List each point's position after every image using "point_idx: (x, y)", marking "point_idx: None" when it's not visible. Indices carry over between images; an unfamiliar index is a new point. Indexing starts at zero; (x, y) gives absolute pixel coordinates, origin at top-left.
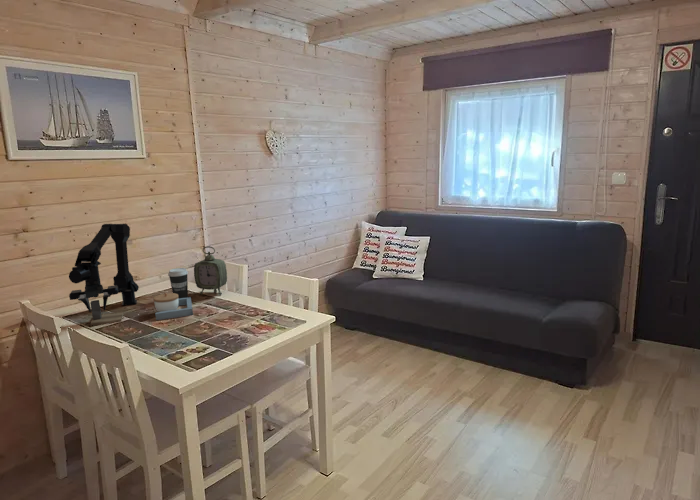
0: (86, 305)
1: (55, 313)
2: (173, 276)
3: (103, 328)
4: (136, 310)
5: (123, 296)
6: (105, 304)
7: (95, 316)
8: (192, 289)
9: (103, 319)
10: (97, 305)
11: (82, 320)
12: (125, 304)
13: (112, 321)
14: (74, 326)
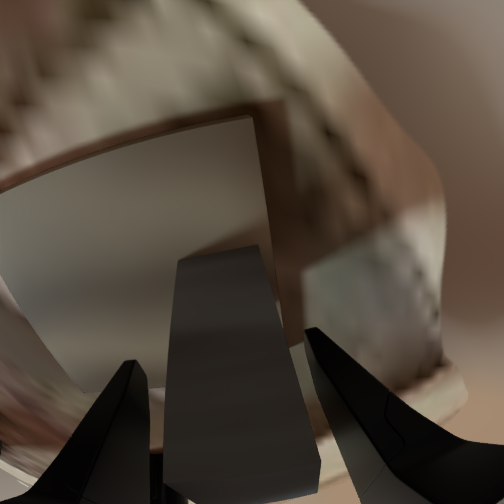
0: (383, 400)
1: (462, 386)
2: None
3: (67, 13)
4: (42, 394)
5: (170, 500)
6: (82, 422)
7: (231, 274)
8: (22, 473)
9: (135, 236)
10: (183, 413)
11: (366, 302)
12: (160, 459)
13: (27, 180)
14: (412, 164)
